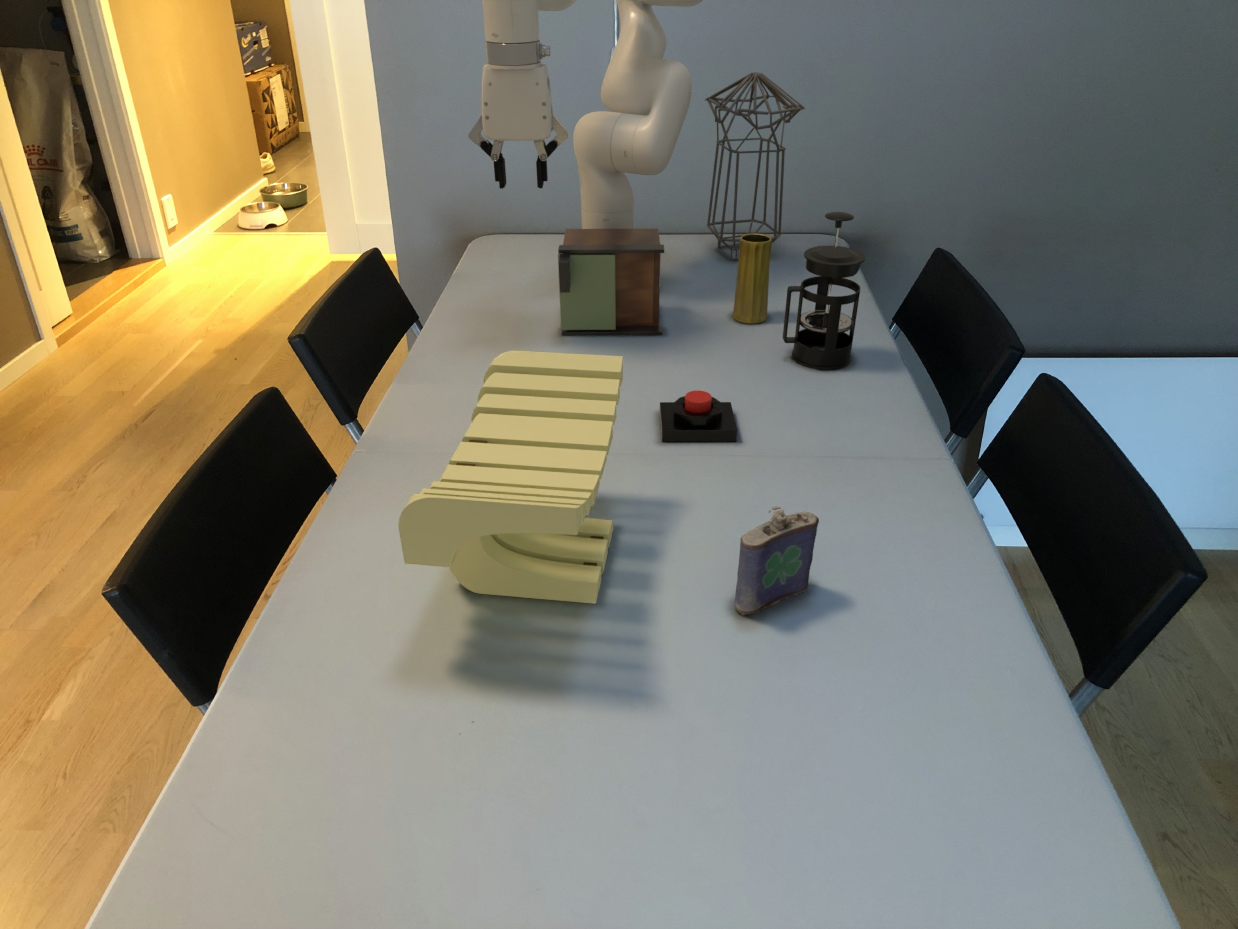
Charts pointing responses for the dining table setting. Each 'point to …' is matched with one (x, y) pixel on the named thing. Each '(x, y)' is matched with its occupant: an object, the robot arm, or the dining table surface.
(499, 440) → the slatted curved stool
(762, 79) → the geometric lantern
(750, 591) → the flask
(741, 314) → the vase
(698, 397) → the button
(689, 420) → the control block
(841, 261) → the french press
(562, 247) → the cupboard
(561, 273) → the door
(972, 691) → the dining table surface
